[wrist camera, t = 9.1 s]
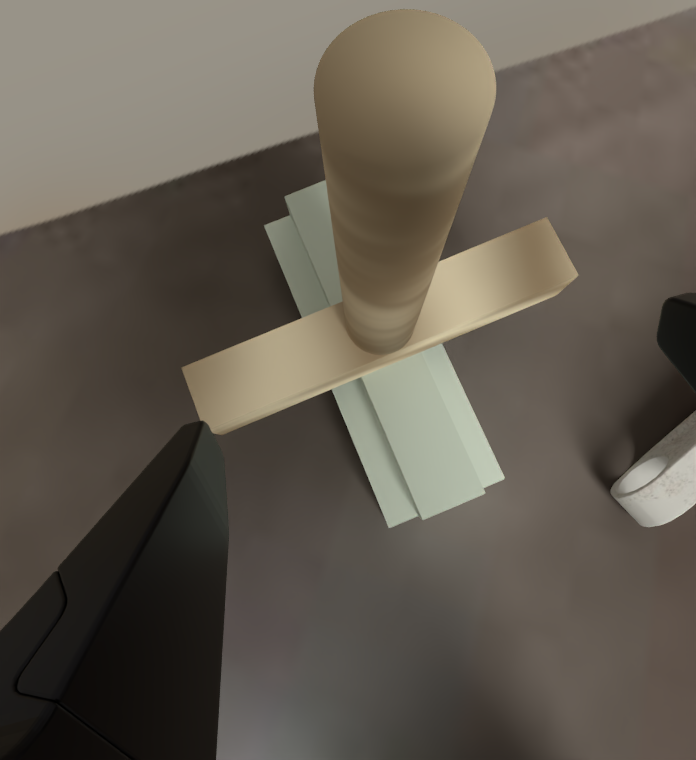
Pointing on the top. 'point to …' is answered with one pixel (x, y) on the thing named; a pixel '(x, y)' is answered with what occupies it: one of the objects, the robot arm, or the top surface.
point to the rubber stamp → (390, 222)
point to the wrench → (661, 478)
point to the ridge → (389, 388)
